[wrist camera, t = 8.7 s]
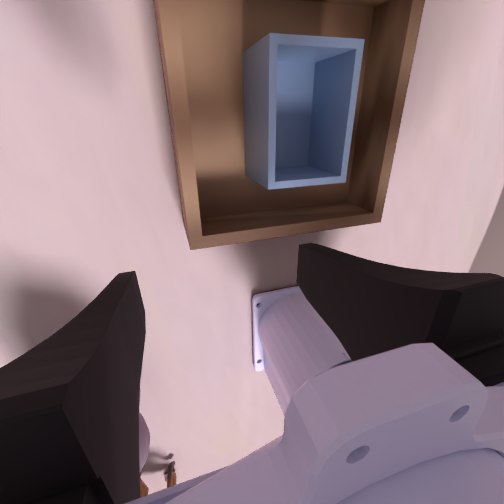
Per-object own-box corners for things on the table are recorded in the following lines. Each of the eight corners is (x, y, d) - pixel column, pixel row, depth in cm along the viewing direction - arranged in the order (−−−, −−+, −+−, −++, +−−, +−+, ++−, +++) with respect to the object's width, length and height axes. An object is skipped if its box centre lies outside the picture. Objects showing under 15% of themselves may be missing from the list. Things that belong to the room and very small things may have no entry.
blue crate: (309, 170, 21) (345, 182, 17) (245, 174, 19) (267, 189, 15) (318, 56, 17) (364, 39, 14) (242, 52, 16) (269, 32, 12)
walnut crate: (348, 207, 24) (380, 222, 21) (184, 227, 20) (190, 250, 17) (378, -4, 18) (431, -32, 14) (149, -29, 14) (148, -76, 11)
